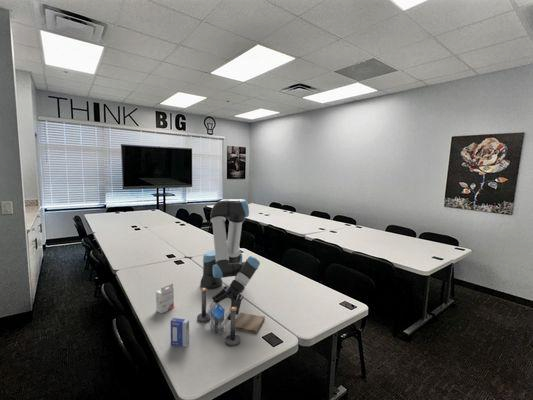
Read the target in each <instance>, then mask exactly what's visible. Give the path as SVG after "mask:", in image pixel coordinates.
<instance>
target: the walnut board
mask: <svg viewBox="0 0 533 400" xmlns="http://www.w3.org/2000/svg"><path fill="white" fill-rule="evenodd" d="M264 321H265V316H262V315H256V314H252V313H248V312H247V313H246V312H242V311H241V312H239V314H238V315H237V316H236V329H235V331H242V332H245V333H250V334H255V335H257V334H258V332H259V330H260V328H261V327H262V325H263V323H264Z"/></svg>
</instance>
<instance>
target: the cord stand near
mask: <svg viewBox="0 0 533 400" xmlns="http://www.w3.org/2000/svg"><path fill="white" fill-rule="evenodd" d="M236 310H237V307H236V306H231V305H230V307H229V312H230V311H231V312H230V313H231V320H230V321H229V322H230V324H229V325H230V328H229V329H230V332H229V333H230V334H228V335H227V336H226V337H225V338H224V343H225V345H226V346H228V347H230V348H231V347H236V346H238V345H240V343H241V337H240V336H239V335H238V334H236V330H235V329H236V318H237V315H236Z"/></svg>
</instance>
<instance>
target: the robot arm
mask: <svg viewBox="0 0 533 400" xmlns="http://www.w3.org/2000/svg"><path fill="white" fill-rule="evenodd" d="M249 216H250V207H249V203H248V202H247V200H246V199H240V198H239V199H237V198H235V199H234V198H233V199H226V198H225V199H220V200H219V201H216V202H215V203H214V205H213V207H212V208H211V211H210V215H209V217H210V218H209V219H210V221H209V222H210V223H212V233H213V243H214V250H210V251H207V252H206V253H204V255H203V258H202V262H203V263H202V265H203V267H202V276H201V280H200V282H199V283H200V284H199V285H200V287H201V288H207V290H215V289H218V288H219V289H220V288H221V287H222V286H223V278H229V277H234V279H233V280H232V281H231V283H230V284H229V287H228V286H226V285H225V286H224V287H223V288H222V289H221V290H220V291H219V292H217V293H216V294H214V296H213V297H212V303H211V304H210V306H209V308H208V310H206V313H207V314H208V315H210V316H211V311H212V310H213V309H215V308H216V307H217V302H218V303H220V302H222V301H224V300H226V299H229V300H230V301H231V302H230V307H231V306H236V307H237V310H236V316H238V315H239V314H240V308H241V304H242V300H243V299H244V296H243V295H242V293H243V291H245V290H244V289H246V288H245V287H247V285H248V284H249V282H250V281H251V279H252V278H253V276H254V274H255V273H256V271H257V270H258V269H259V268H260V264H261V262H260V261H259V259H258V258H256V257H254V256H251V255H249V256H248V257H247V258H246V260H245V261H243V253H242V252H241V250H240V242H241V236H242V228H243V226H242V225H243V223H244V222H245V220H246V218H248V217H249ZM226 220H228V222H229V223H228V232H226ZM229 322H231V311H230V310H229V312H228V313H227V314H226V316H224V320H223V322H222V325H223V326H224V328H225V327H227V325H228V324H229Z"/></svg>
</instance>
